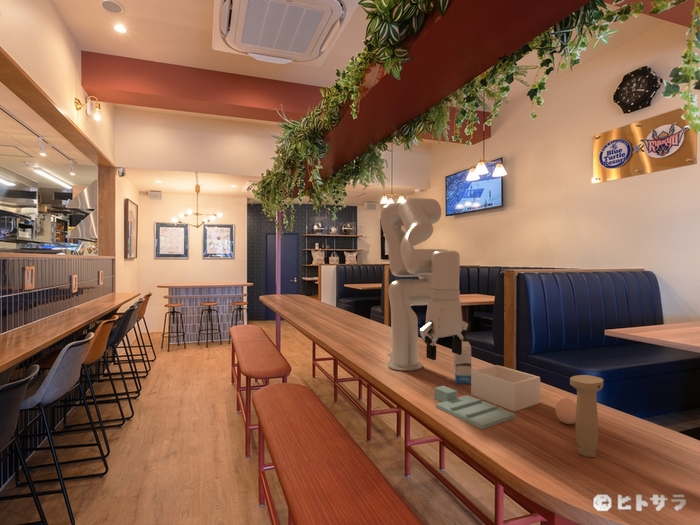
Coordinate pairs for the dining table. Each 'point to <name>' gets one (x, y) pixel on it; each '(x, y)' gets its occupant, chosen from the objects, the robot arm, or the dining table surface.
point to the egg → (566, 411)
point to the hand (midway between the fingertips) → (444, 356)
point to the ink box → (463, 364)
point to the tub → (505, 387)
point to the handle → (586, 413)
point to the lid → (470, 408)
